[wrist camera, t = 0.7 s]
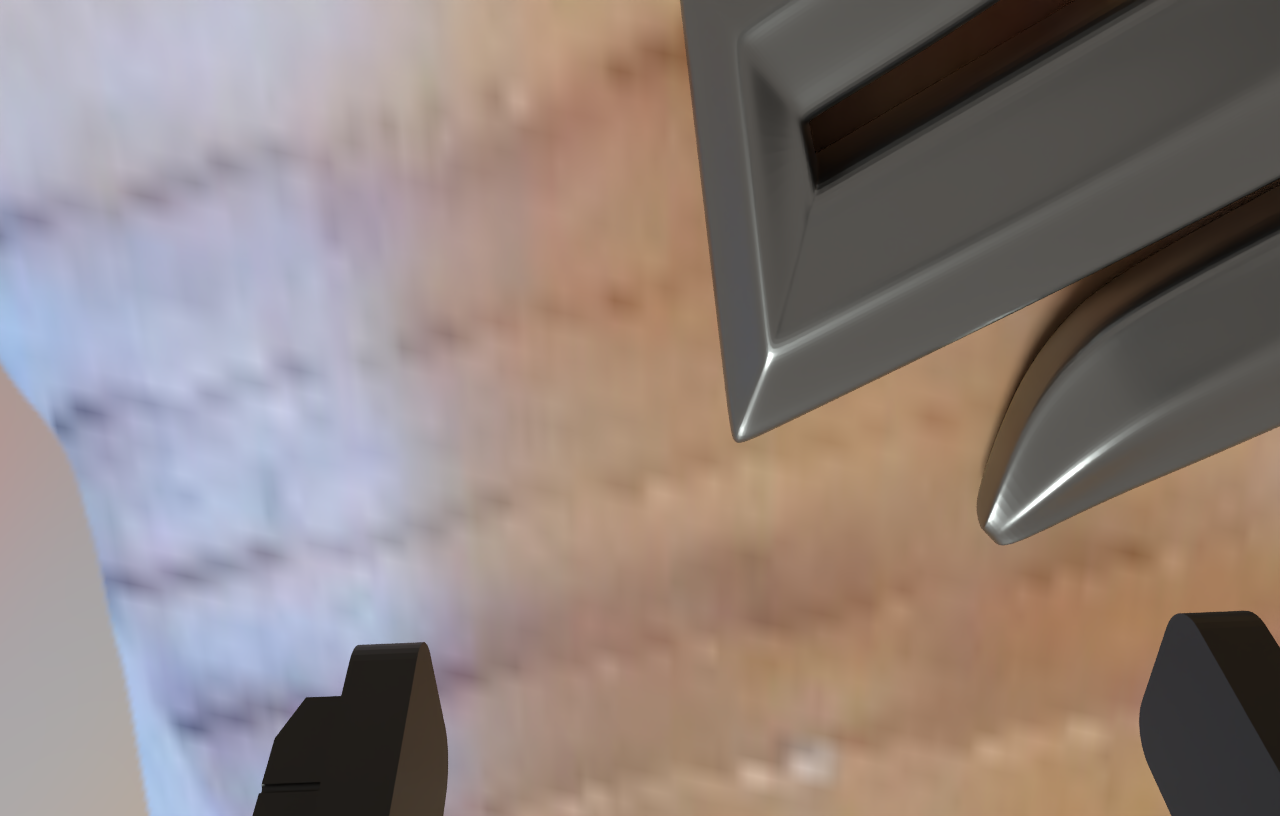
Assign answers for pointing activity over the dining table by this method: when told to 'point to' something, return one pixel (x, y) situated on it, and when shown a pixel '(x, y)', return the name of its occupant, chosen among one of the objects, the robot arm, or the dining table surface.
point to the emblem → (1002, 224)
